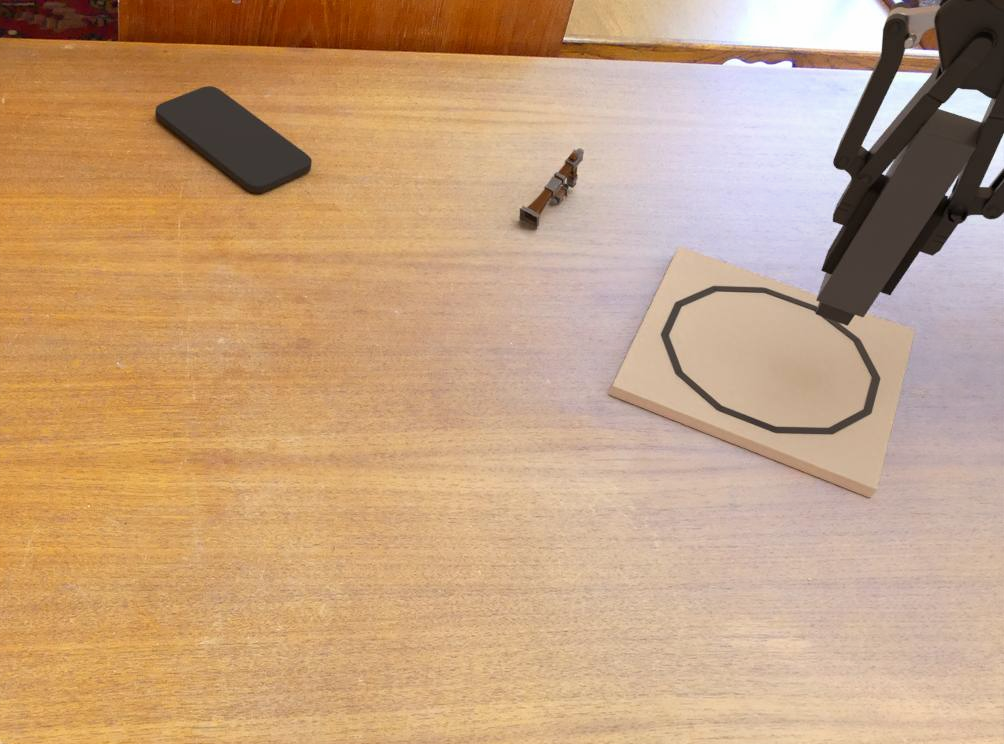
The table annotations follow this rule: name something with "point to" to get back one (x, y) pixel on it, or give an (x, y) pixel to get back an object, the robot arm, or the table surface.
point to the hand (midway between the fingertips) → (858, 272)
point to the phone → (233, 139)
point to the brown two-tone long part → (553, 189)
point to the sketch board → (768, 370)
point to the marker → (898, 214)
